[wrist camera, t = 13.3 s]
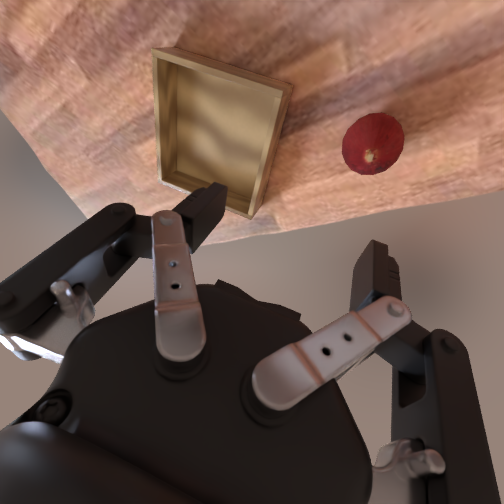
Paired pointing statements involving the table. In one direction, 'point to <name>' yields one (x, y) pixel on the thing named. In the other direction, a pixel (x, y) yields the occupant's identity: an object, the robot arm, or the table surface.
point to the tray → (216, 126)
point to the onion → (373, 144)
